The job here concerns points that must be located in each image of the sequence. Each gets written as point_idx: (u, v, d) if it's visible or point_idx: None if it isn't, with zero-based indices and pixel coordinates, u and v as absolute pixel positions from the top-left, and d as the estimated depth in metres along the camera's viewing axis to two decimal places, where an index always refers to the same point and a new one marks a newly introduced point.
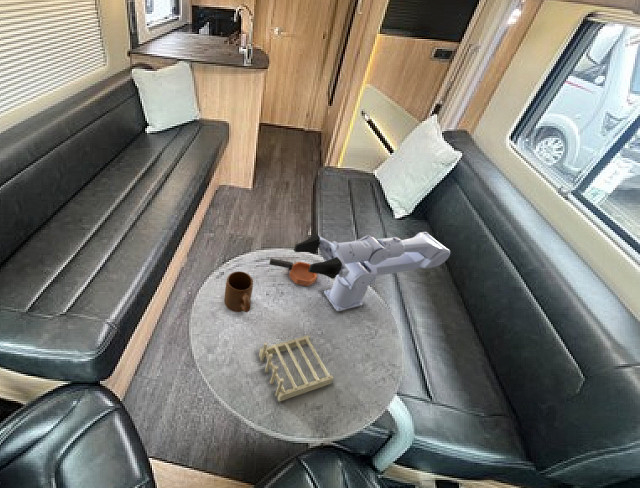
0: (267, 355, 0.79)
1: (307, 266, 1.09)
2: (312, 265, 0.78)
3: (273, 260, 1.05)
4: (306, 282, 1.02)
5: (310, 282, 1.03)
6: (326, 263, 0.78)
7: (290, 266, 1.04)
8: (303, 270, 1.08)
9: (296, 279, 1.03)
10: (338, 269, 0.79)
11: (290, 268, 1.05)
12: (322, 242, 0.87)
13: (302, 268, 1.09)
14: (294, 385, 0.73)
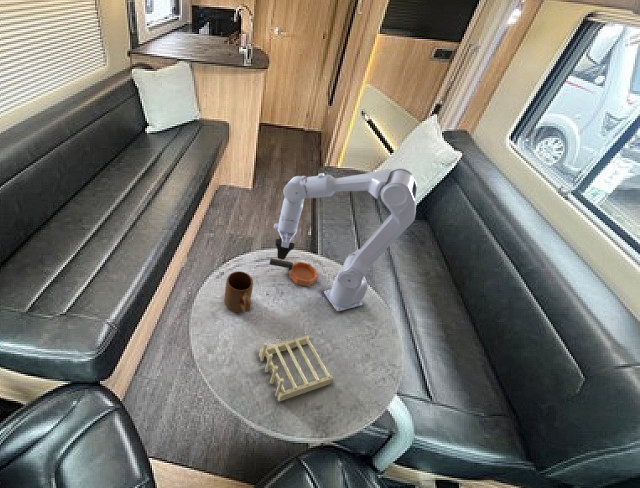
0: (267, 355, 0.79)
1: (307, 266, 1.09)
2: None
3: (273, 260, 1.05)
4: (306, 282, 1.02)
5: (310, 282, 1.03)
6: None
7: (290, 266, 1.04)
8: (303, 270, 1.08)
9: (296, 279, 1.03)
10: None
11: (290, 268, 1.05)
12: None
13: (302, 268, 1.09)
14: (294, 385, 0.73)
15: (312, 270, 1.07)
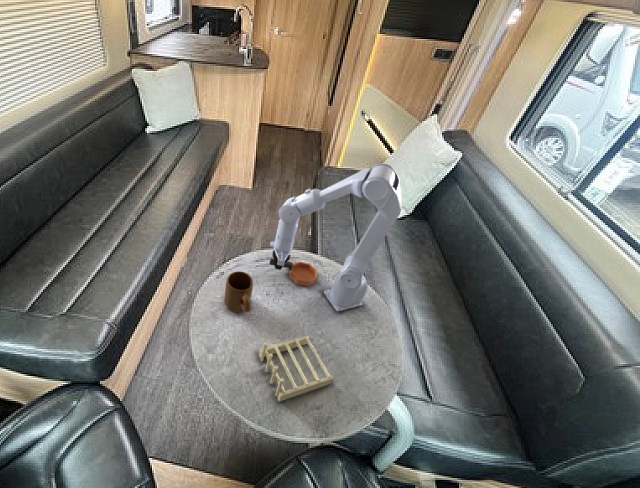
0: (267, 355, 0.79)
1: (307, 266, 1.09)
2: None
3: (273, 260, 1.05)
4: (306, 282, 1.02)
5: (310, 282, 1.03)
6: None
7: (290, 266, 1.04)
8: (303, 270, 1.08)
9: (296, 279, 1.03)
10: None
11: (290, 268, 1.05)
12: None
13: (302, 268, 1.09)
14: (294, 385, 0.73)
15: (312, 270, 1.07)
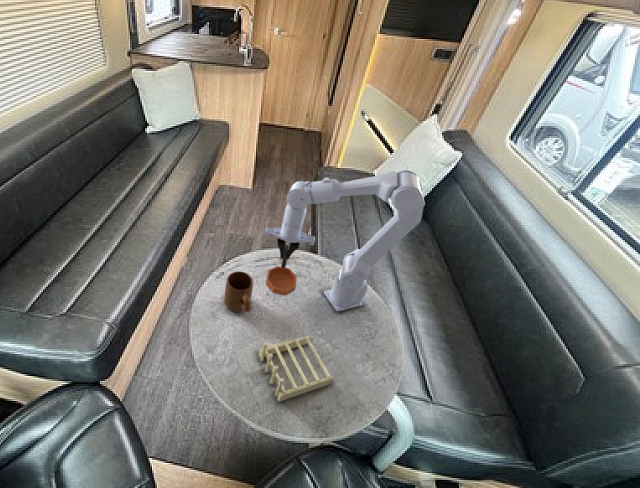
0: (267, 355, 0.79)
1: None
2: None
3: (285, 247, 0.99)
4: (266, 279, 0.93)
5: (268, 283, 0.92)
6: None
7: (282, 262, 0.95)
8: (287, 283, 0.93)
9: None
10: None
11: None
12: None
13: (291, 283, 0.94)
14: (294, 385, 0.73)
15: None
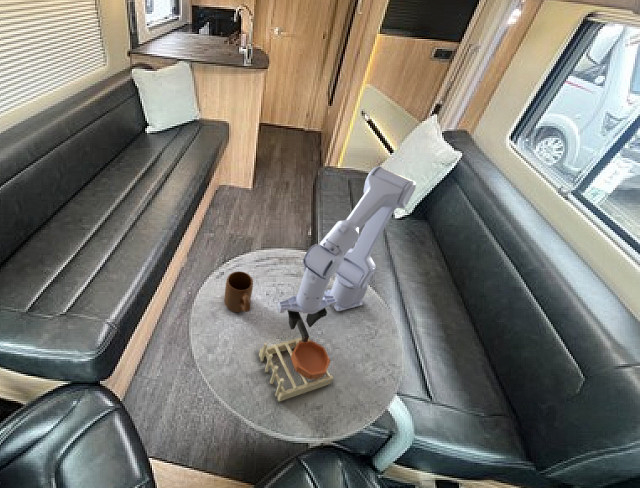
0: (267, 355, 0.79)
1: (326, 362, 0.78)
2: None
3: None
4: (295, 364, 0.76)
5: (300, 370, 0.75)
6: None
7: (303, 336, 0.80)
8: (317, 359, 0.78)
9: (293, 352, 0.78)
10: None
11: (302, 339, 0.80)
12: None
13: (320, 358, 0.79)
14: (294, 385, 0.73)
15: (324, 369, 0.76)
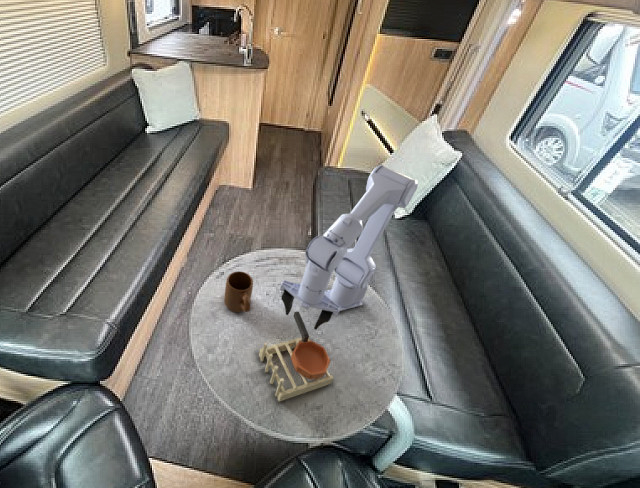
0: (267, 355, 0.79)
1: (326, 362, 0.78)
2: (315, 328, 0.79)
3: (297, 315, 0.84)
4: (295, 364, 0.76)
5: (300, 370, 0.75)
6: (320, 323, 0.77)
7: (303, 336, 0.80)
8: (317, 359, 0.78)
9: (293, 352, 0.78)
10: None
11: (302, 339, 0.80)
12: None
13: (320, 358, 0.79)
14: (294, 385, 0.73)
15: (324, 369, 0.76)
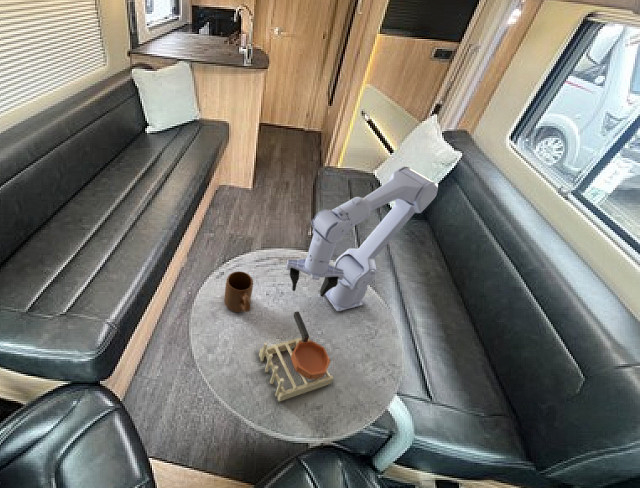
0: (267, 355, 0.79)
1: (326, 362, 0.78)
2: (322, 295, 0.87)
3: (297, 315, 0.84)
4: (295, 364, 0.76)
5: (300, 370, 0.75)
6: (327, 289, 0.84)
7: (303, 336, 0.80)
8: (317, 359, 0.78)
9: (293, 352, 0.78)
10: None
11: (302, 339, 0.80)
12: None
13: (320, 358, 0.79)
14: (294, 385, 0.73)
15: (324, 369, 0.76)
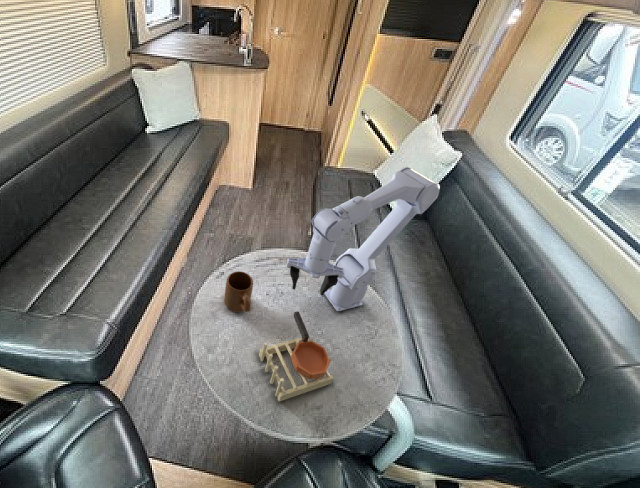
0: (267, 355, 0.79)
1: (326, 362, 0.78)
2: (322, 294, 0.87)
3: (297, 315, 0.84)
4: (295, 364, 0.76)
5: (300, 370, 0.75)
6: (327, 288, 0.85)
7: (303, 336, 0.80)
8: (317, 359, 0.78)
9: (293, 352, 0.78)
10: None
11: (302, 339, 0.80)
12: None
13: (320, 358, 0.79)
14: (294, 385, 0.73)
15: (324, 369, 0.76)
